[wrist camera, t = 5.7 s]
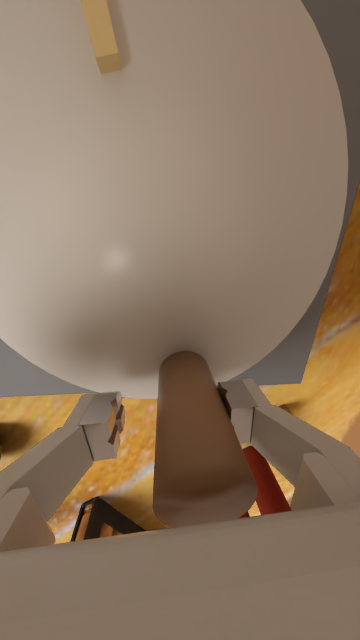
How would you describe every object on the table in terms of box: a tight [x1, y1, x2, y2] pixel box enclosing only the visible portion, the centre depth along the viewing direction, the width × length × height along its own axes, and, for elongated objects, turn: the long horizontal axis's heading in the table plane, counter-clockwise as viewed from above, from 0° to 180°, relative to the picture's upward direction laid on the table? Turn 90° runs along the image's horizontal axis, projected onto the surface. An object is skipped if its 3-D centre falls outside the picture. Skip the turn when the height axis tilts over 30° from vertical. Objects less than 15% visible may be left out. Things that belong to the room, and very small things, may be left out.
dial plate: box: [0, 0, 360, 397], centre depth 8 cm, size 20×24×1 cm
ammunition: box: [239, 406, 293, 518], centre depth 13 cm, size 12×2×6 cm, turn 134°
